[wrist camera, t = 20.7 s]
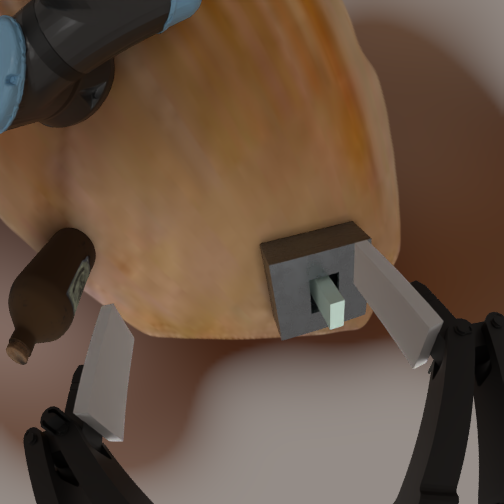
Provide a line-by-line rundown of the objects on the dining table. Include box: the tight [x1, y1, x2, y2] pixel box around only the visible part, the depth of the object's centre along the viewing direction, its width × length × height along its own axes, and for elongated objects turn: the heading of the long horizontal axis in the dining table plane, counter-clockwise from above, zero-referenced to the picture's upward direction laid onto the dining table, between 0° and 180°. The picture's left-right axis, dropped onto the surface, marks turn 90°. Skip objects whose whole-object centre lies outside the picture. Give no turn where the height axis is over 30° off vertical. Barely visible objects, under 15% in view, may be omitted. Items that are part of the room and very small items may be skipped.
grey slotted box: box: [260, 221, 371, 340], centre depth 52 cm, size 18×18×7 cm
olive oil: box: [6, 228, 95, 365], centre depth 33 cm, size 11×11×25 cm
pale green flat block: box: [309, 275, 345, 330], centre depth 50 cm, size 2×6×12 cm, turn 11°
